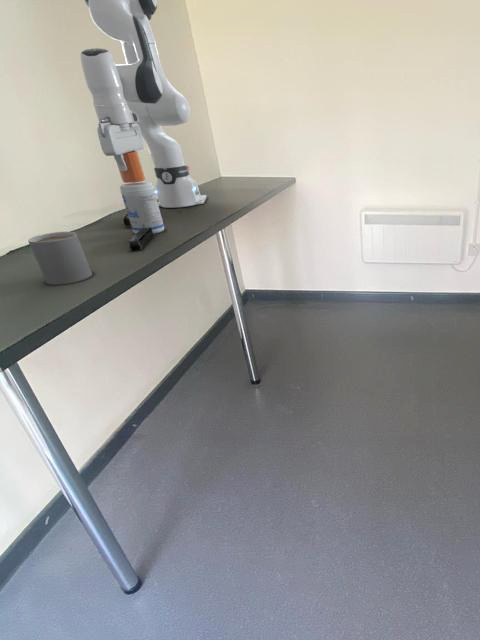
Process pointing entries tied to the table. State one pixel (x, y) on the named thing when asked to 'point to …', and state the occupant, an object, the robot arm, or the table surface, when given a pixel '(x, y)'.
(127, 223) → the sunglasses case
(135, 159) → the cup
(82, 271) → the coffee mug
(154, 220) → the supplement tub
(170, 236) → the table surface
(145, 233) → the black bar
